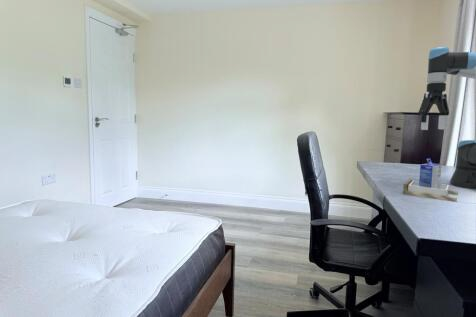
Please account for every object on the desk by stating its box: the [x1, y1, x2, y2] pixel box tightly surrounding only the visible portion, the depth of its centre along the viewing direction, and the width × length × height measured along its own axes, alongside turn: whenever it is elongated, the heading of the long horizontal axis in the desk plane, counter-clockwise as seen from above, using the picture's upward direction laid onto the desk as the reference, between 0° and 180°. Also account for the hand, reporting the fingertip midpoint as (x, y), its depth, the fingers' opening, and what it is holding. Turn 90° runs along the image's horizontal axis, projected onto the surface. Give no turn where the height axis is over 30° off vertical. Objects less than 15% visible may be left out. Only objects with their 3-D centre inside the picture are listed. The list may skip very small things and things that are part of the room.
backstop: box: [402, 178, 459, 202], centre depth 143 cm, size 20×16×4 cm
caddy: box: [408, 180, 450, 196], centre depth 143 cm, size 14×14×4 cm
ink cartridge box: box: [418, 158, 442, 189], centre depth 142 cm, size 10×6×14 cm, turn 130°
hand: (433, 129), depth 151 cm, fingers open, 13 cm apart
